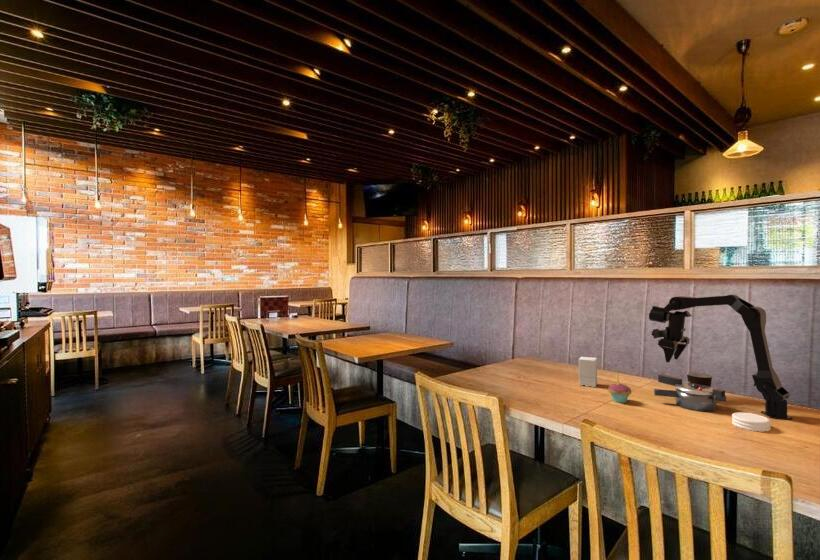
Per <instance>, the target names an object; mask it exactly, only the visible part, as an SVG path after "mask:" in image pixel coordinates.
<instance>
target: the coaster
mask: <svg viewBox="0 0 820 560" xmlns="http://www.w3.org/2000/svg"><path fill="white" fill-rule="evenodd" d="M731 417H732V418H731V423H732V425H733V426H735V427H736V426H737V428H739V429H742V428H743V429H742V430H745V429H747V431H750V430H752V431H751V432H757V431H759V433H766V432H765V431H767V432H769V430H770V431H771V420H770V419H769V418H768V417H767V416H766V417H765V416H763V415H760V414H756V413H749V412H742V411H741V412H739V411H738V412H734V413H732V414H731Z"/></svg>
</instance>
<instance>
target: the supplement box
mask: <svg viewBox="0 0 820 560" xmlns="http://www.w3.org/2000/svg"><path fill="white" fill-rule="evenodd" d="M579 384H580V385H585V386H584V387H588V386H592V387H591V388H596V387H597V386H596V385H598V358H597V357H590V356H580V357H579V358H578V385H579Z"/></svg>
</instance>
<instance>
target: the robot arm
mask: <svg viewBox="0 0 820 560" xmlns="http://www.w3.org/2000/svg"><path fill="white" fill-rule="evenodd" d="M727 305H728V306H729V307H730V308H732V309H733V310H734V311H735V312H736V313H737V314H738V315H740V316H741V318H742V321H743V323H744V325H745V327H746V328H747V330H748V331H749V333H750V339H751V343H752V344H751V345H752V349H753V352H754V353H753V354H754V358H755V362H756V363H755V364H756V368H757V372H755V373H753V374H752V375H751V376H752V379H753V387H755V388H756V390H757V391H758V392H759V393H760V394H761V395H762V397H763V399H764V400H765V401H764V402H765V405H764V406H765V410H761V411H760V413H761V414H763V415H765V416H766V417H769V418H771V419H780V420H781V419H783V420H793V417H792V416H790V415H788V401H787V400H788V399H789V397H790V396H791V393H790V392H789V391H788V390H787V389H785V387H784V386H782V385H783V384H782V383H781V380H780V378H779V377H780V376H778V375H779V374H777V372H776V371H775V369H774V367H773V362H772V359H771V354H770V353H771V352H770V349H769V344H768V339H767V336H766V325H767V312H766V310H765V309H764V308H762V307H760V306H755V305H753V304H752V303H750V302H748V301H746V300H744V299H743V298H741V297H740V296H739V295H736V294H727V295H716V296H703V297H701V296H700V297H694V296H682V295H681V296H679V295H678V296H673V297H671V298H670V299H669V302H668V303H667V304H666V305H665V306H664V307H663V306H661V307H660V306H658V305H652V308H651V309H650V311H649V313H648V319H649V321H651V322H656V323H661V324H666V323H667V322H668V325H667V326H665V329H659V328H655V329H653V330H652V331H651V336H652V337H653V339H654V340H655V339H659V338H660V339H659V340H657V345H658V346H659V347H660V348H661V349H662V350H663V353H664V358H665V362H666V363H670V361H671V360H672V359H673V358H674V360H678V359H679V358H680V356H681V355H682V354H683V352H684V350H685V349H686V348H687V347H688V346H689V345H690V343H691V339H690V338H689V337H688V336H684V332H686V328H685V323H686V318H691V317H693V316H692V314H691V313H690V312H689V311H688V310H687V309H692V308H696V307H710V306H711V307H712V306H727ZM683 310H684V311H683Z"/></svg>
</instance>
